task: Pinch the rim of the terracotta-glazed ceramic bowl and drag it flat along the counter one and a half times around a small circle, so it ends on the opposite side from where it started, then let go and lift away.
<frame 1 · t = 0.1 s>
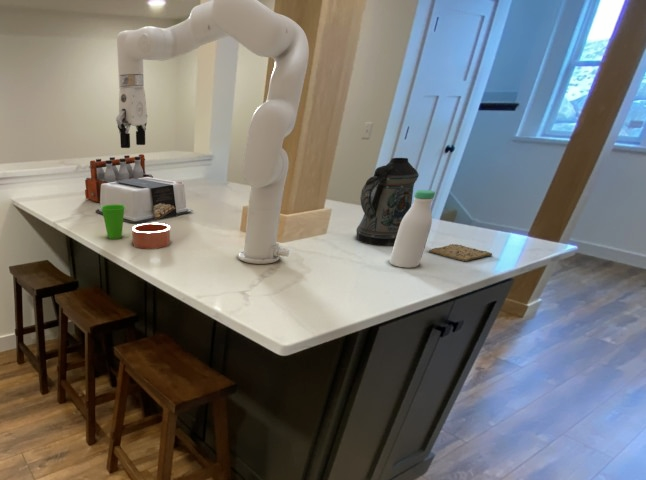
hand: (133, 146, 144), 31 cm above the table, tool pointing down, fingers open, 9 cm apart
cake box: (142, 212, 204), on the table
beer stein: (379, 241, 152), on the table
bowl: (151, 243, 160), on the table
milk bottle: (403, 264, 131), on the table
cookie: (459, 254, 136), on the table
milk bottle holder: (120, 198, 237), on the table
cup: (114, 237, 169), on the table
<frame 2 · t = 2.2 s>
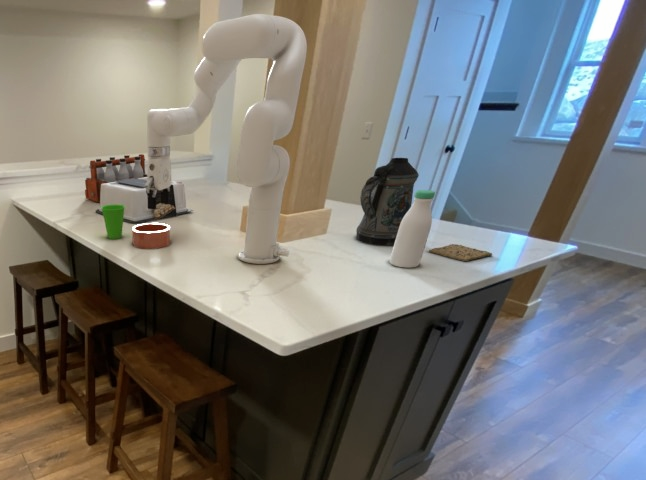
hand: (158, 206, 159), 12 cm above the table, tool pointing down, fingers open, 9 cm apart
nothing on the table moved.
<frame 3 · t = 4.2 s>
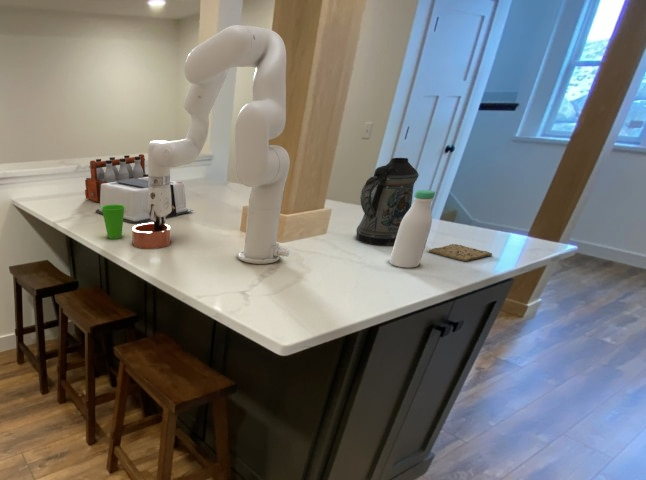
hand: (159, 235, 164), 1 cm above the table, tool pointing down, fingers closed on bowl
bowl: (151, 243, 160), on the table, touching gripper
everything else where it was.
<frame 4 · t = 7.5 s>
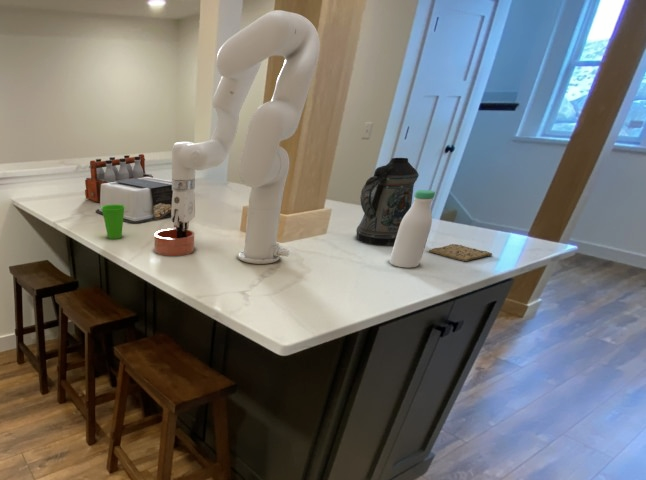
hand: (182, 241, 156), 1 cm above the table, tool pointing down, fingers closed on bowl
bowl: (174, 250, 152), on the table, touching gripper
everything else where it was.
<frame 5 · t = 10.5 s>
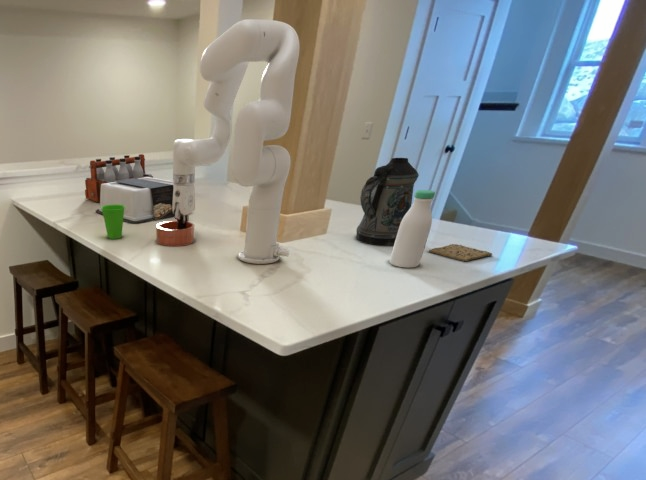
hand: (182, 232, 165), 1 cm above the table, tool pointing down, fingers closed on bowl
bowl: (175, 240, 162), on the table, touching gripper
everything else where it was.
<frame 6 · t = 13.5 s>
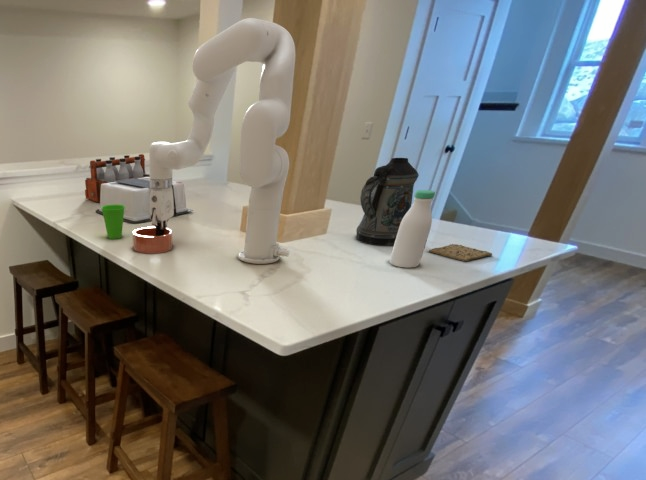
hand: (161, 239, 159), 1 cm above the table, tool pointing down, fingers closed on bowl
bowl: (152, 247, 155), on the table, touching gripper
everything else where it was.
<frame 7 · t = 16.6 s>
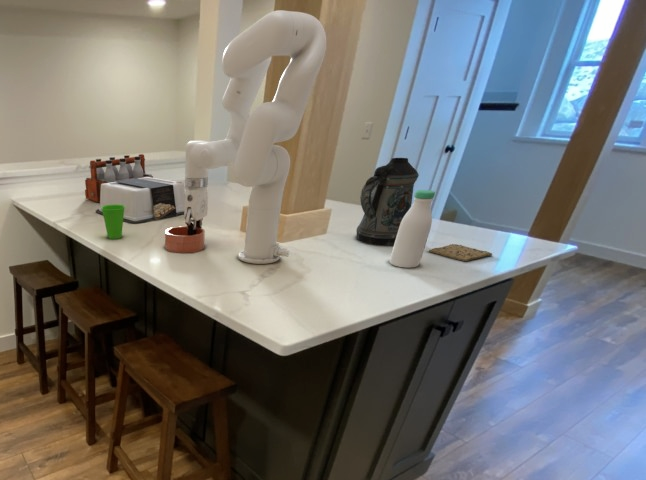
hand: (194, 238, 158), 2 cm above the table, tool pointing down, fingers open, 3 cm apart
bowl: (184, 247, 154), on the table
everything else where it was.
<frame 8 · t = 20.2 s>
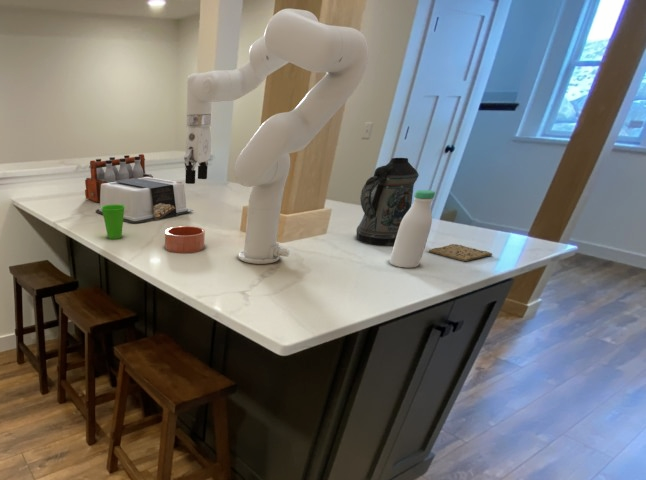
hand: (196, 181, 147), 20 cm above the table, tool pointing down, fingers open, 9 cm apart
nothing on the table moved.
at the end: bowl 0.9 cm from the target spot, on the table; bowl tilted 0°; the gripper is holding nothing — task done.
